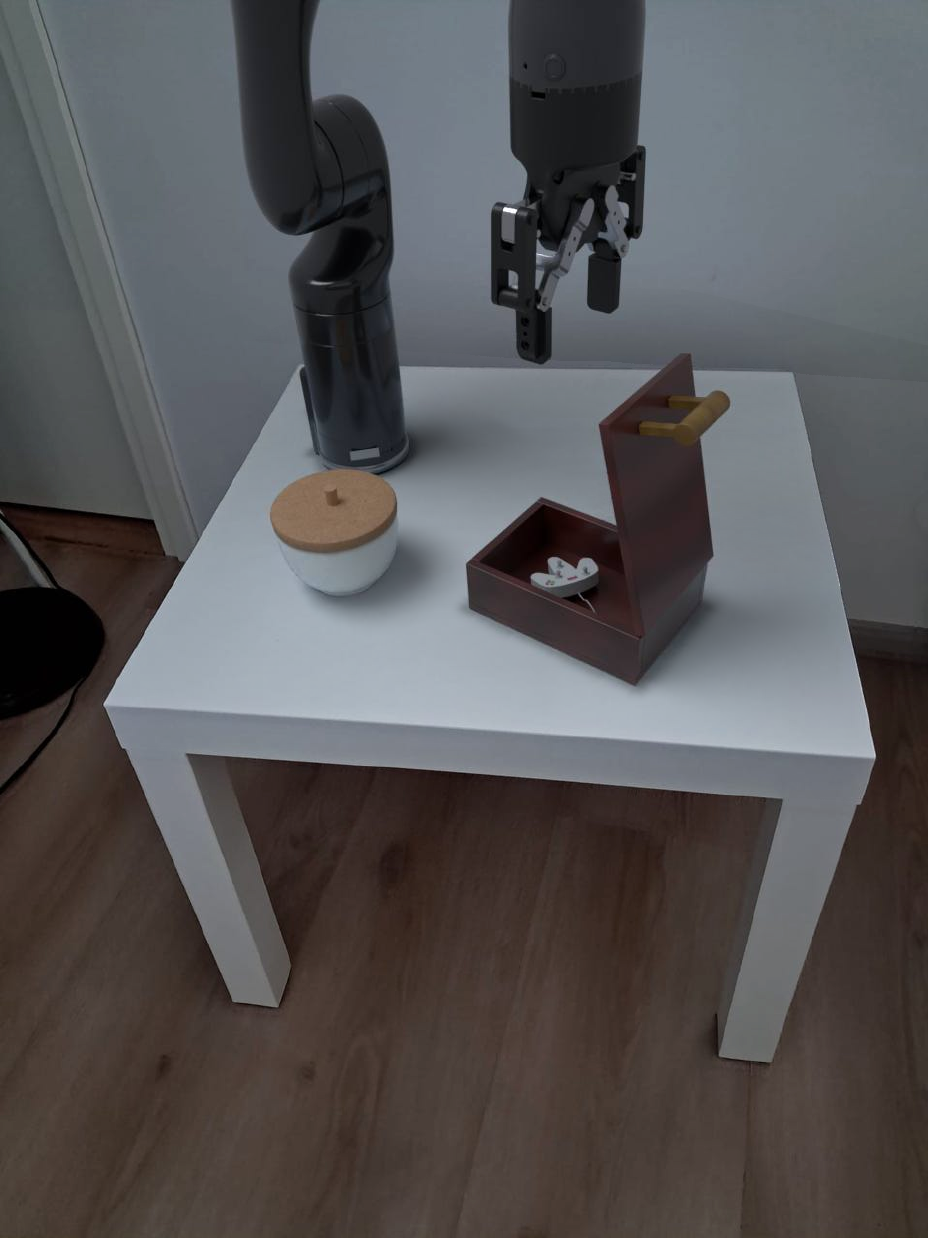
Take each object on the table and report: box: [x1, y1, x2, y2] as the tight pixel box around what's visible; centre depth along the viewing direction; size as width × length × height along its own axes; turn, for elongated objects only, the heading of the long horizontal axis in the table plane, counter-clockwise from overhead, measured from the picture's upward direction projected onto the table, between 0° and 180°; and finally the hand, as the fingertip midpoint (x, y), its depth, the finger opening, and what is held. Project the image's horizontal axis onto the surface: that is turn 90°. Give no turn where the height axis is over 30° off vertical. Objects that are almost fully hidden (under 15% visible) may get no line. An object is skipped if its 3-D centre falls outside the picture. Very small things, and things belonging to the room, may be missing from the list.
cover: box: [598, 352, 731, 636], centre depth 66 cm, size 17×11×5 cm
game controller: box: [531, 557, 599, 612], centre depth 77 cm, size 6×12×3 cm, turn 40°
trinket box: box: [269, 469, 399, 597], centre depth 81 cm, size 11×11×9 cm
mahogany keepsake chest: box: [465, 496, 709, 687], centre depth 77 cm, size 16×11×5 cm
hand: (569, 333), depth 64 cm, fingers open, 8 cm apart
